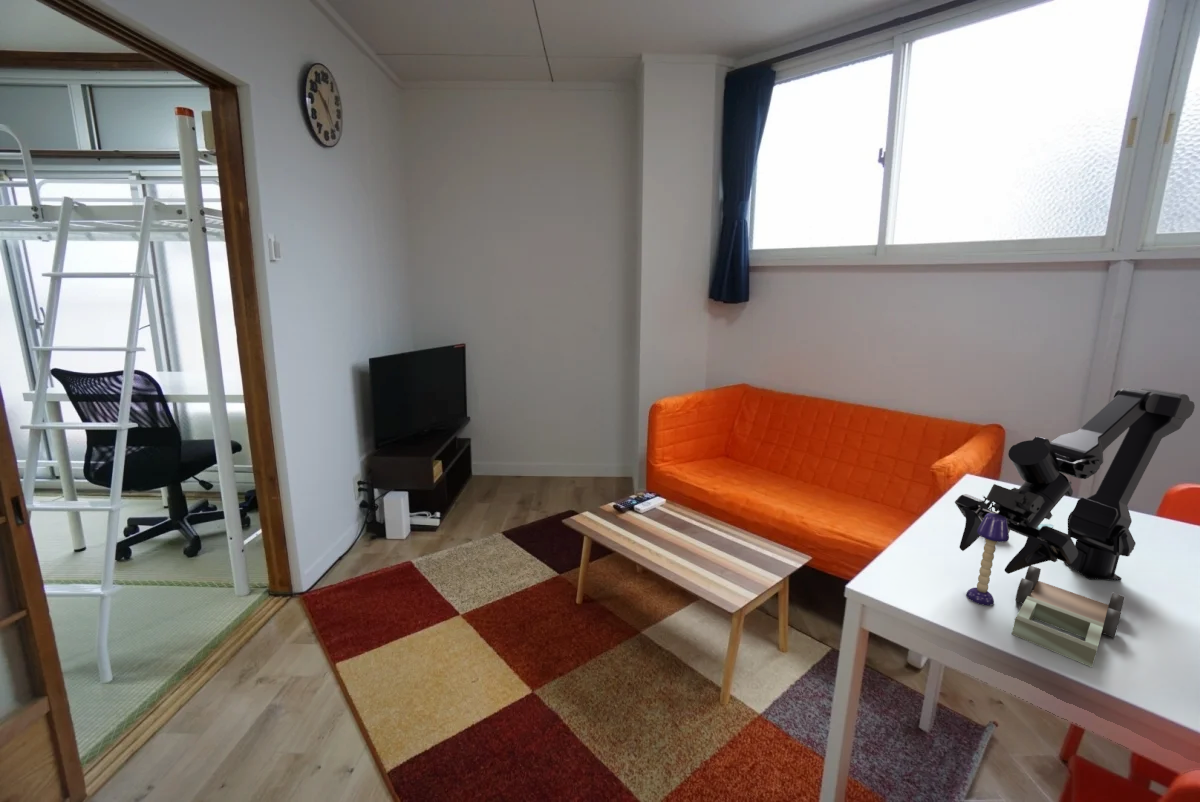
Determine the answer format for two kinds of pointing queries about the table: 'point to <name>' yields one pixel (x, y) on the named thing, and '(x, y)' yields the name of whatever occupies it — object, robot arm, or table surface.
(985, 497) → the creature
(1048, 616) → the chassis
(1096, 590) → the table surface
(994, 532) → the toy lamp
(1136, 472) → the robot arm
